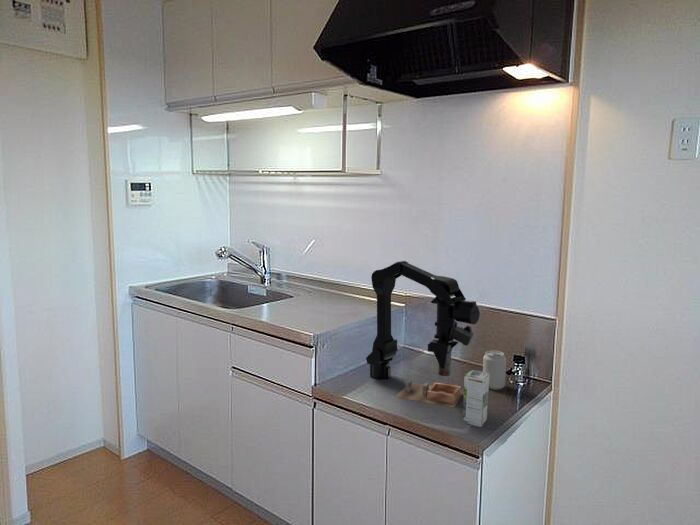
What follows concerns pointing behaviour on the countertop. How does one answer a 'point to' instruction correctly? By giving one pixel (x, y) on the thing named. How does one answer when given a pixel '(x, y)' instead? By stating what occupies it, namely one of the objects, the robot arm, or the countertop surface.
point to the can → (495, 369)
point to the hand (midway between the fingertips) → (444, 366)
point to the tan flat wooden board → (432, 393)
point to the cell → (446, 366)
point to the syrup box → (475, 397)
